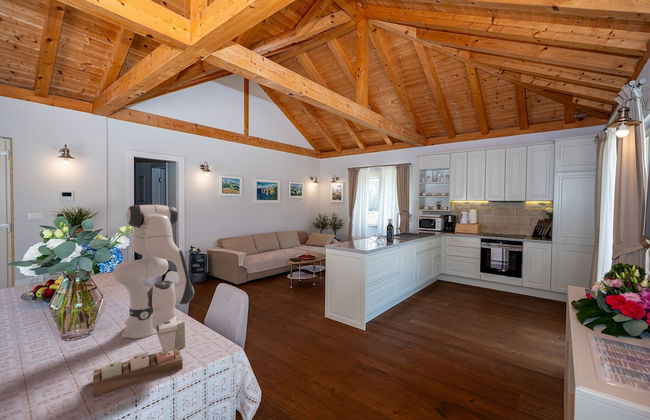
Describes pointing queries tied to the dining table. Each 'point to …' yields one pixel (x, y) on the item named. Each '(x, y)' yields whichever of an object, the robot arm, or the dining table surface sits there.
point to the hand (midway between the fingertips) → (165, 353)
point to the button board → (135, 374)
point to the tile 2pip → (139, 361)
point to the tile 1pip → (111, 369)
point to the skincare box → (180, 334)
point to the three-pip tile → (164, 356)
